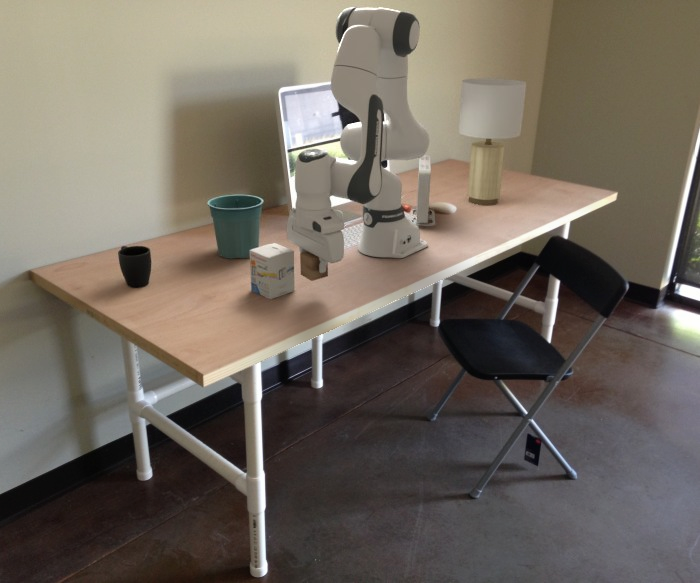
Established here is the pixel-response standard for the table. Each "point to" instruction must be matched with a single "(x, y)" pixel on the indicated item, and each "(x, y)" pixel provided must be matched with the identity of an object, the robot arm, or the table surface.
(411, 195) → the table surface
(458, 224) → the table surface
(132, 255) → the mug
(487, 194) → the lamp
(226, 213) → the flower pot
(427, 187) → the network device
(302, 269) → the walnut block
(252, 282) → the ink box
